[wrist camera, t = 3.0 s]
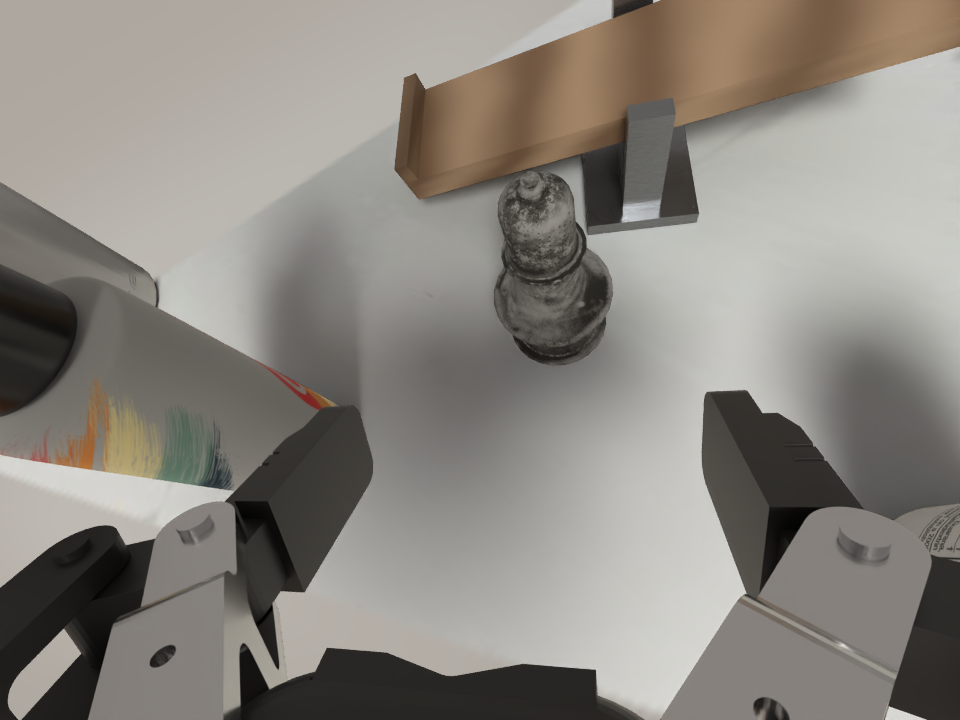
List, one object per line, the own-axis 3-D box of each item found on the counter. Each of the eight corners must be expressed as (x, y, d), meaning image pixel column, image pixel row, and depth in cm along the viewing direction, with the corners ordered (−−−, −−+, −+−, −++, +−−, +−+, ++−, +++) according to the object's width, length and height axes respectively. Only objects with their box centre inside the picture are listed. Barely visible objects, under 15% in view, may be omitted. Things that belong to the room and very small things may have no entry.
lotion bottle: (303, 389, 29) (-178, 138, 11) (379, 422, 27) (-55, 183, 9) (255, 477, 28) (-381, 352, 10) (331, 518, 26) (-286, 458, 8)
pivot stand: (588, 234, 29) (584, 139, 22) (578, 97, 33) (572, -19, 26) (696, 222, 27) (727, 116, 21) (672, 81, 31) (692, -47, 24)
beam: (419, 199, 29) (394, 169, 27) (426, 112, 32) (404, 77, 29) (984, 39, 19) (1023, -30, 17) (930, -69, 22) (957, -142, 19)
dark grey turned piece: (491, 301, 29) (423, 151, 18) (583, 260, 28) (572, 79, 17) (529, 387, 26) (478, 274, 15) (630, 343, 26) (652, 194, 15)
